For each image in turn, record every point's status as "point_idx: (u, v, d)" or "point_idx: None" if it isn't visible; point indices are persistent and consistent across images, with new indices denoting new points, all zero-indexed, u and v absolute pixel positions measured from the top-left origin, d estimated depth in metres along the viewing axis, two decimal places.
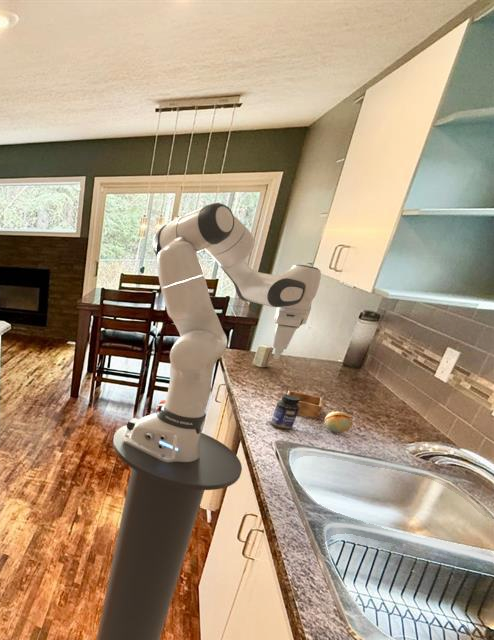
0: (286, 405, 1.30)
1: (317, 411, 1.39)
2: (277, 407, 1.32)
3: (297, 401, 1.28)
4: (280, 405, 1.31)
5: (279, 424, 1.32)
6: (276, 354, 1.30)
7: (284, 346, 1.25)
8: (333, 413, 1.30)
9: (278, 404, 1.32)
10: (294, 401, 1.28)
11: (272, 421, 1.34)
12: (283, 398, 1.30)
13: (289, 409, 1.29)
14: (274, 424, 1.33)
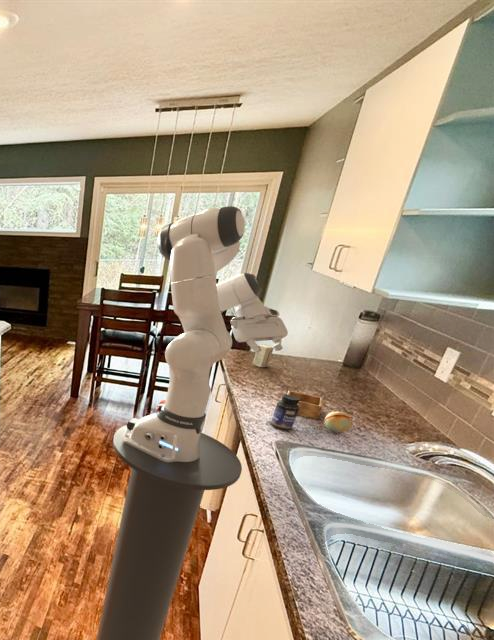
0: (286, 405, 1.30)
1: (317, 411, 1.39)
2: (277, 407, 1.32)
3: (297, 401, 1.28)
4: (280, 405, 1.31)
5: (279, 424, 1.32)
6: None
7: None
8: (333, 413, 1.30)
9: (278, 404, 1.32)
10: (294, 401, 1.28)
11: (272, 421, 1.34)
12: (283, 398, 1.30)
13: (289, 409, 1.29)
14: (274, 424, 1.33)
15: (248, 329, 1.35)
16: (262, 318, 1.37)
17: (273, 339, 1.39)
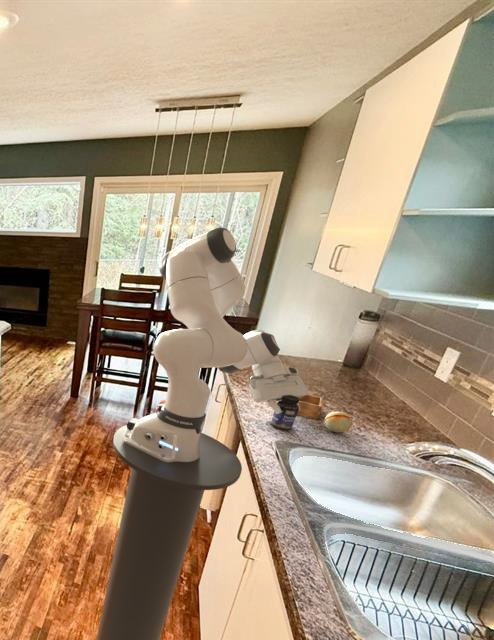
0: (285, 405, 1.30)
1: (317, 411, 1.39)
2: None
3: (297, 401, 1.28)
4: (279, 405, 1.31)
5: (279, 424, 1.32)
6: None
7: None
8: (333, 413, 1.30)
9: (278, 404, 1.32)
10: (294, 401, 1.28)
11: (272, 421, 1.34)
12: (283, 398, 1.30)
13: (289, 409, 1.29)
14: (274, 424, 1.33)
15: (268, 390, 1.31)
16: (281, 378, 1.32)
17: None
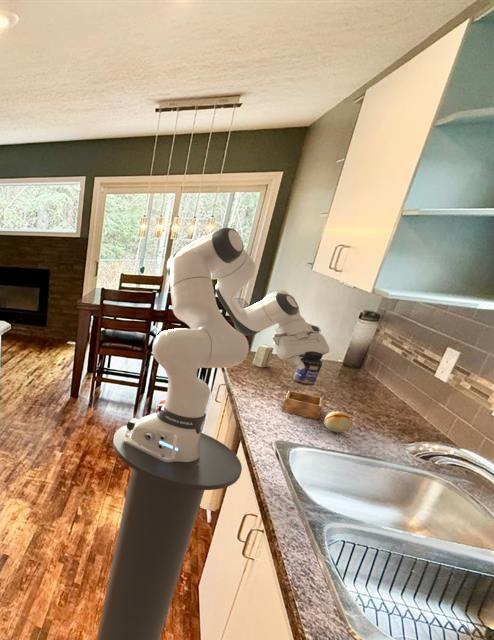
0: (309, 360, 1.33)
1: (317, 411, 1.39)
2: None
3: (320, 356, 1.32)
4: (303, 361, 1.35)
5: (302, 380, 1.36)
6: None
7: None
8: (333, 413, 1.30)
9: (301, 360, 1.36)
10: (317, 356, 1.32)
11: (295, 377, 1.38)
12: (306, 354, 1.34)
13: (312, 364, 1.33)
14: (297, 380, 1.37)
15: (292, 346, 1.34)
16: (305, 335, 1.36)
17: None
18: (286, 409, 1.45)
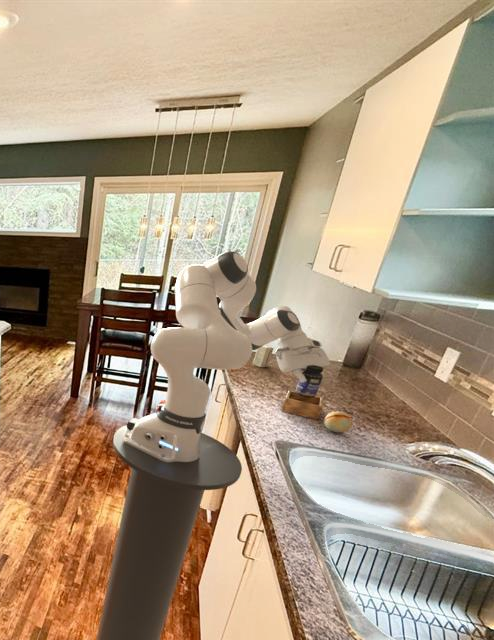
0: (310, 374, 1.40)
1: (317, 411, 1.39)
2: None
3: (321, 370, 1.38)
4: (304, 374, 1.41)
5: (304, 392, 1.42)
6: None
7: None
8: (333, 413, 1.30)
9: (303, 374, 1.42)
10: (318, 370, 1.38)
11: (297, 390, 1.44)
12: (308, 368, 1.40)
13: (313, 378, 1.39)
14: (299, 392, 1.43)
15: (293, 360, 1.41)
16: (306, 349, 1.42)
17: None
18: (286, 409, 1.45)
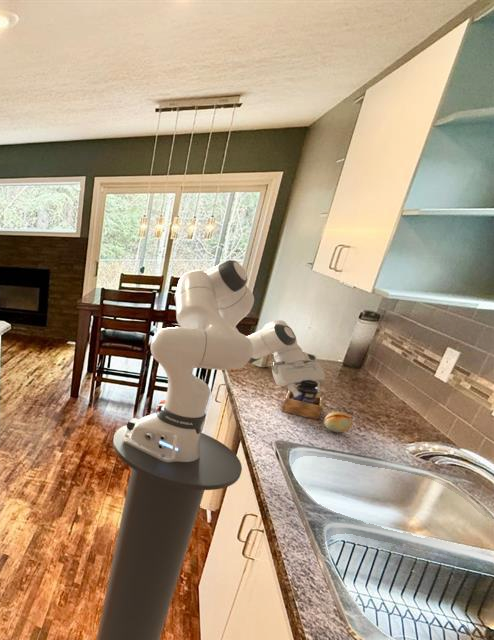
0: (305, 388, 1.42)
1: (317, 411, 1.39)
2: None
3: (315, 385, 1.41)
4: (299, 388, 1.43)
5: None
6: None
7: None
8: (333, 413, 1.30)
9: (298, 388, 1.44)
10: (313, 385, 1.40)
11: None
12: (302, 382, 1.43)
13: (308, 392, 1.41)
14: None
15: (289, 375, 1.43)
16: (301, 363, 1.44)
17: None
18: (286, 409, 1.45)
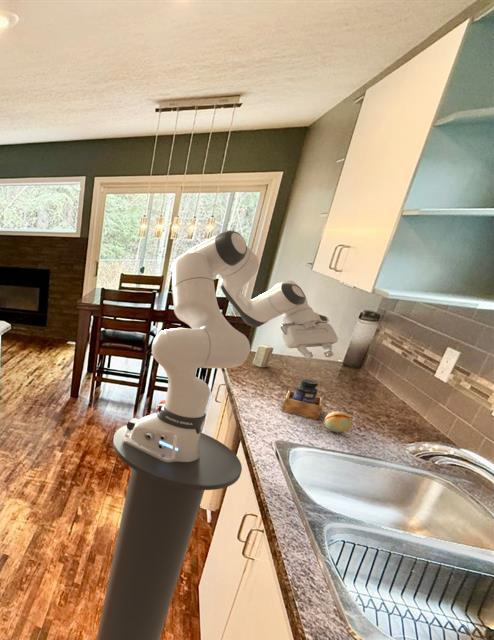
0: (305, 388, 1.42)
1: (317, 411, 1.39)
2: (297, 391, 1.44)
3: (315, 385, 1.41)
4: (299, 388, 1.43)
5: None
6: None
7: None
8: (333, 413, 1.30)
9: (298, 388, 1.44)
10: (313, 385, 1.40)
11: None
12: (302, 382, 1.43)
13: (308, 392, 1.41)
14: None
15: (299, 335, 1.35)
16: (313, 324, 1.36)
17: (323, 345, 1.39)
18: (286, 409, 1.45)
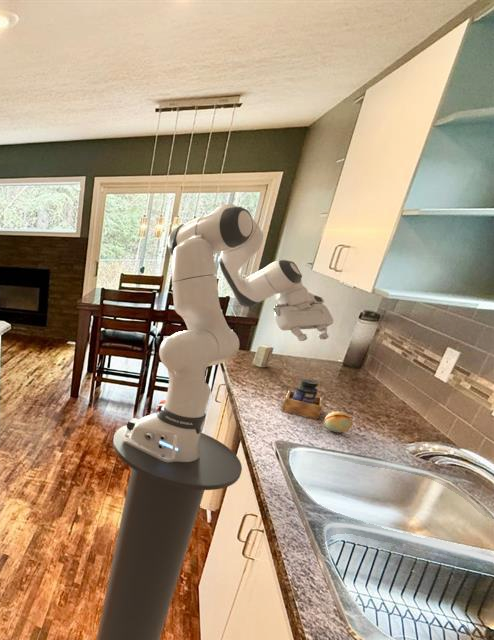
0: (305, 388, 1.42)
1: (317, 411, 1.39)
2: (297, 391, 1.44)
3: (315, 385, 1.41)
4: (299, 388, 1.43)
5: None
6: None
7: None
8: (333, 413, 1.30)
9: (298, 388, 1.44)
10: (313, 385, 1.40)
11: None
12: (302, 382, 1.43)
13: (308, 392, 1.41)
14: None
15: (293, 317, 1.28)
16: (307, 305, 1.30)
17: (318, 327, 1.32)
18: (286, 409, 1.45)
